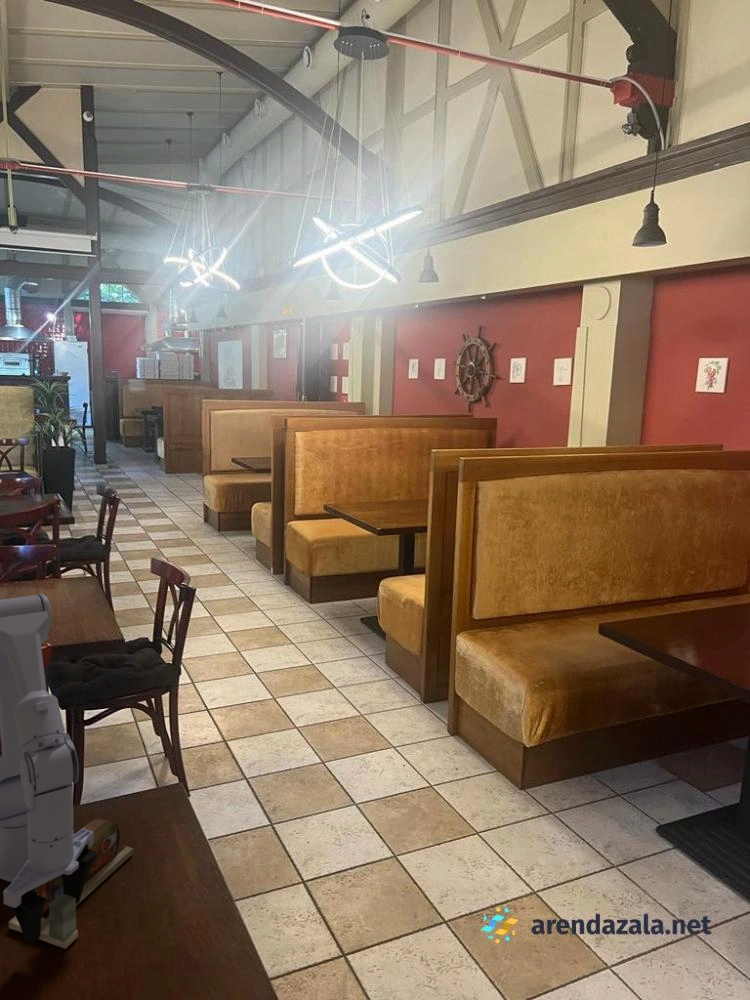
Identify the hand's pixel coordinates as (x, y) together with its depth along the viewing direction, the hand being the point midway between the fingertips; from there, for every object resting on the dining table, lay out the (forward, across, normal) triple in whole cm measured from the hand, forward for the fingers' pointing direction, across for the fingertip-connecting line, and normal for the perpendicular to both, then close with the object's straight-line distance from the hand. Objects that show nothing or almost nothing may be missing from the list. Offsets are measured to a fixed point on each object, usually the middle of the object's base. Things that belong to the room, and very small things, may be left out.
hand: (52, 918), depth 101 cm
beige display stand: (+3, +9, +2) cm, 9 cm away
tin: (+3, +10, +4) cm, 11 cm away
